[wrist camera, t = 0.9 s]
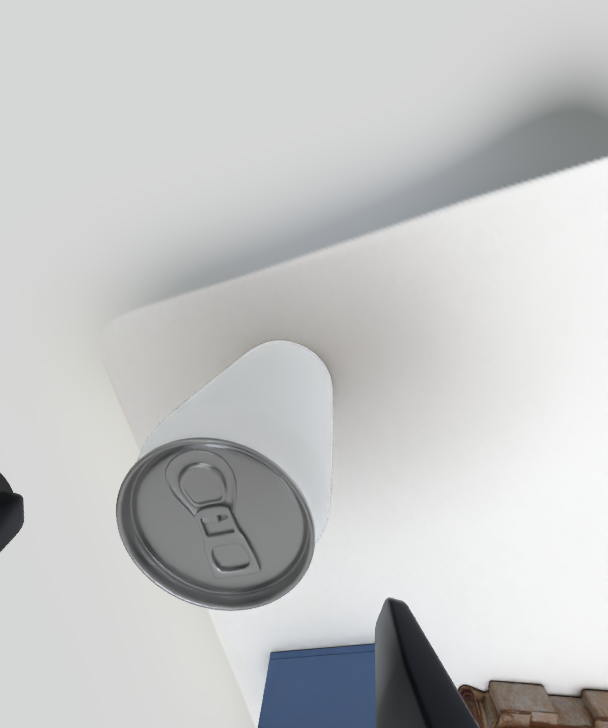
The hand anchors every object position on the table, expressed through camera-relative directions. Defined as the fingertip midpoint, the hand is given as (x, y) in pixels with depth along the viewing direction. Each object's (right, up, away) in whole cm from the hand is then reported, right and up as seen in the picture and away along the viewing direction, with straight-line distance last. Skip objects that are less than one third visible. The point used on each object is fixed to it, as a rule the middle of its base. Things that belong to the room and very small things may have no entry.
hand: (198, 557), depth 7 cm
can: (+1, +3, +13) cm, 13 cm away
